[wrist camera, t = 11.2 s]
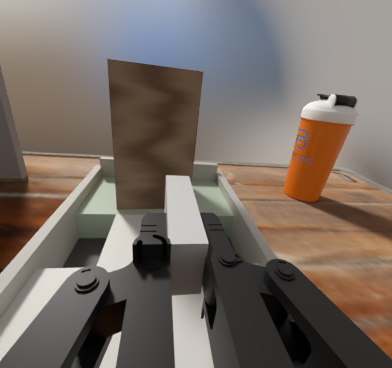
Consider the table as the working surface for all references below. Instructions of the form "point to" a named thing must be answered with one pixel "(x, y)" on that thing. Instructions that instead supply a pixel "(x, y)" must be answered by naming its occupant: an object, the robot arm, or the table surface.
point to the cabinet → (9, 142)
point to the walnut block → (151, 129)
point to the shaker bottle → (319, 144)
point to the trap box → (118, 256)
